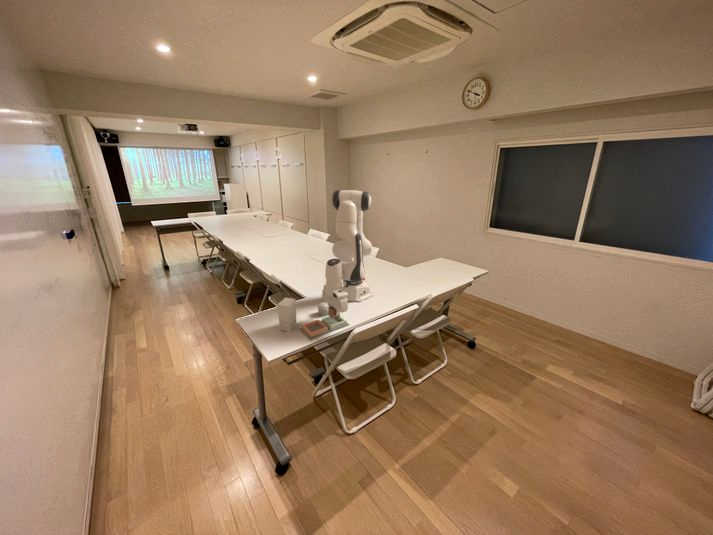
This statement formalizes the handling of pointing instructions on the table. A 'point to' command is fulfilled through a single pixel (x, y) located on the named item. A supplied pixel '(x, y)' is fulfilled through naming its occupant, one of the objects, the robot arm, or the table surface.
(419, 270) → the table surface
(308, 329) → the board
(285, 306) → the skincare box
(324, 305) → the grey rounded cylinder
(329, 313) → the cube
